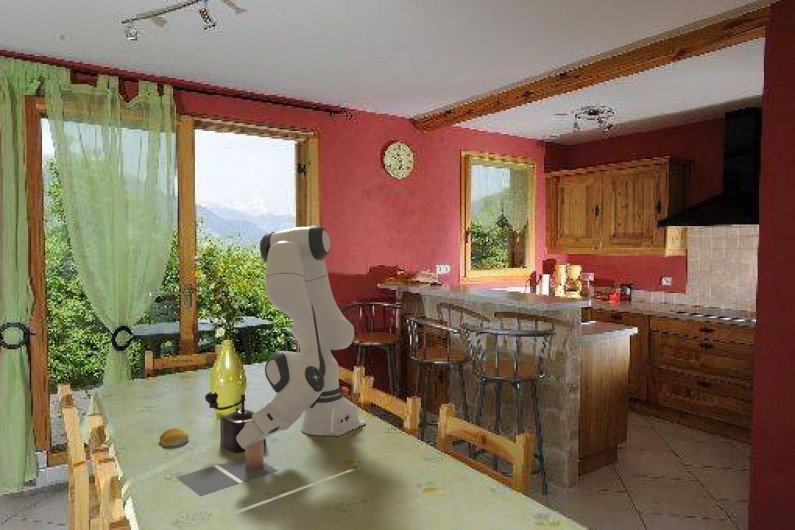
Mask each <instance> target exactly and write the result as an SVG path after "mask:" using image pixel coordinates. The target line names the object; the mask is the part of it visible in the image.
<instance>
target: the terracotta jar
mask: <svg viewBox="0 0 795 530" xmlns="http://www.w3.org/2000/svg"><path fill="white" fill-rule="evenodd" d="M247 423H248V422H246V423H245V425H246V424H247ZM264 446H265V445H264V439H262V440H260V441H258V442H256V443H254V444H252V445H251V446H250V447H249V448H247V449H245V451H244V457H245V467H246V468H247V469H258V468H261V467H263V465H264V463H265V462H264V460H265V459H264V457H265V456H264V451H265V450H264V449H265V448H264Z"/></svg>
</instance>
